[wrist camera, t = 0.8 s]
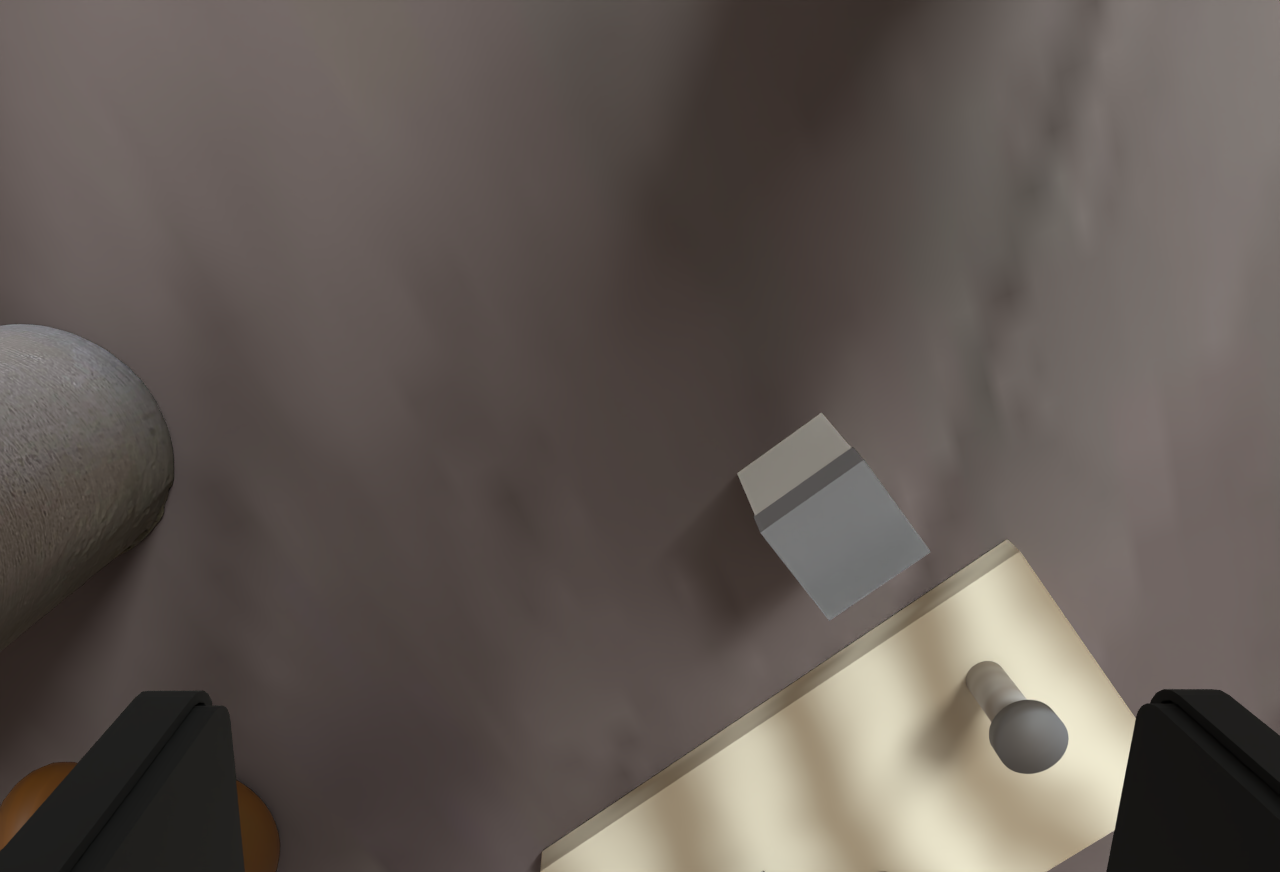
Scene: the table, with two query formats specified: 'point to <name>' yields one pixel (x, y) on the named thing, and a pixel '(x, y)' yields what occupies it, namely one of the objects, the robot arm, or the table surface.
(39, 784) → the mug
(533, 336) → the table surface
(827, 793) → the board
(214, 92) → the table surface
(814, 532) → the grey rectangular block
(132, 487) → the pillar candle
